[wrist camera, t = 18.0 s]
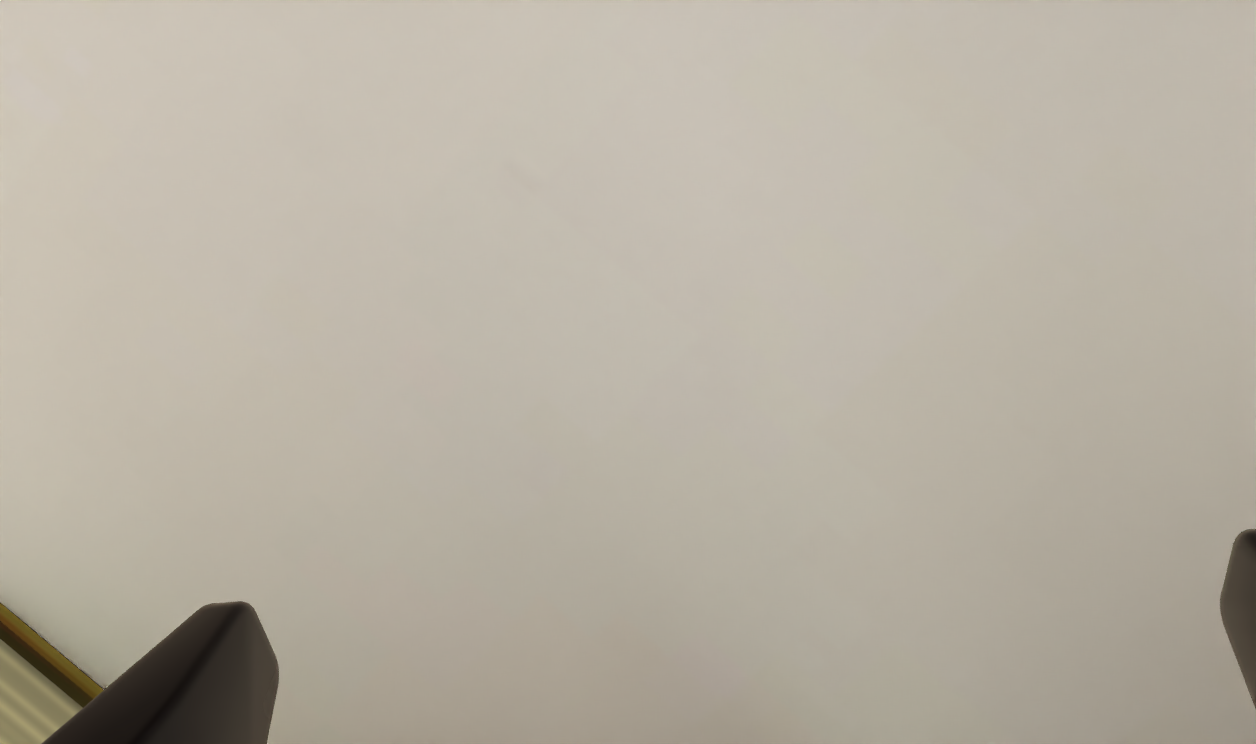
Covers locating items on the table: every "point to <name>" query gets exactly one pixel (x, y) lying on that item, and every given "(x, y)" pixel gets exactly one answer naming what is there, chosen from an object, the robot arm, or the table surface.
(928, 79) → the table surface
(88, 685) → the hardcover book
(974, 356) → the table surface
